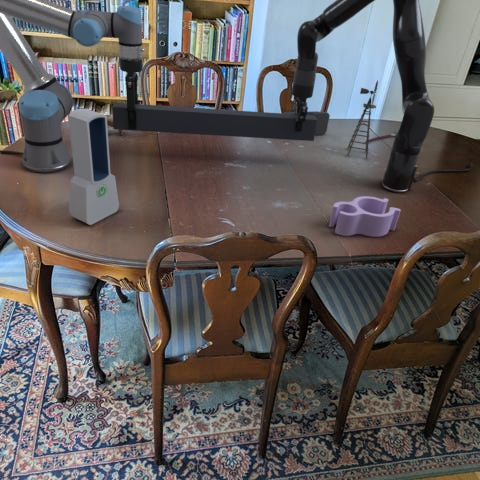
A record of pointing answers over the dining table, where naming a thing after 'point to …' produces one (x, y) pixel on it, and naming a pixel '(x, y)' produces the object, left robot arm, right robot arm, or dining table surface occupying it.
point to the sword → (382, 137)
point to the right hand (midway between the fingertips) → (296, 128)
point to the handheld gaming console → (318, 121)
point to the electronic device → (91, 168)
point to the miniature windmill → (364, 91)
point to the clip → (364, 217)
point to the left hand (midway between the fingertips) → (133, 125)
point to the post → (214, 122)
